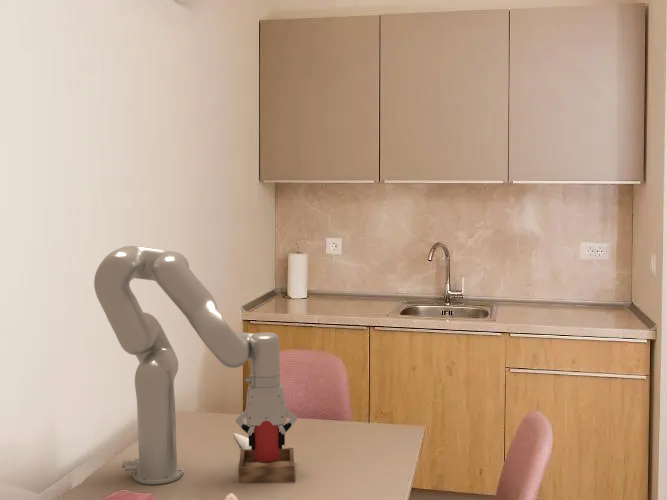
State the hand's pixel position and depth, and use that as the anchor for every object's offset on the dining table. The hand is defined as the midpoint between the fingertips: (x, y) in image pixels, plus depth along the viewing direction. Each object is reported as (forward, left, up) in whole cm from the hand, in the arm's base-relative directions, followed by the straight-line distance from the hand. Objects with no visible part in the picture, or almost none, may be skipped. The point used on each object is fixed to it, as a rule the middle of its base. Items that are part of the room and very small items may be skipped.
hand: (267, 447), depth 206 cm
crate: (0, 0, -7) cm, 7 cm away
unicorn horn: (-7, +20, -7) cm, 22 cm away
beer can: (0, 0, -3) cm, 3 cm away
